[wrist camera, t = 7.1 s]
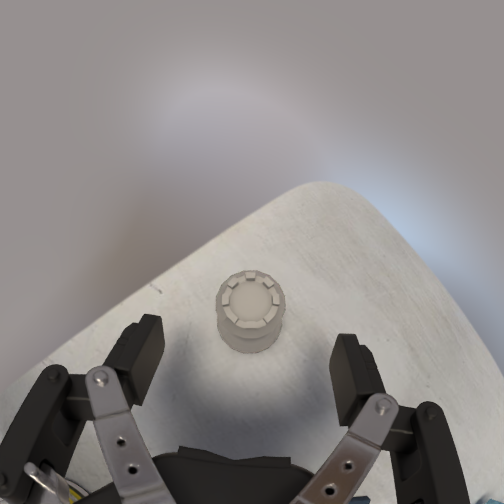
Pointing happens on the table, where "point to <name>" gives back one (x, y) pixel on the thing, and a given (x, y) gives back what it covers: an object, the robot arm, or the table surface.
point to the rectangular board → (359, 500)
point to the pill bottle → (74, 493)
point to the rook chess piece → (250, 311)
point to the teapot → (493, 502)
